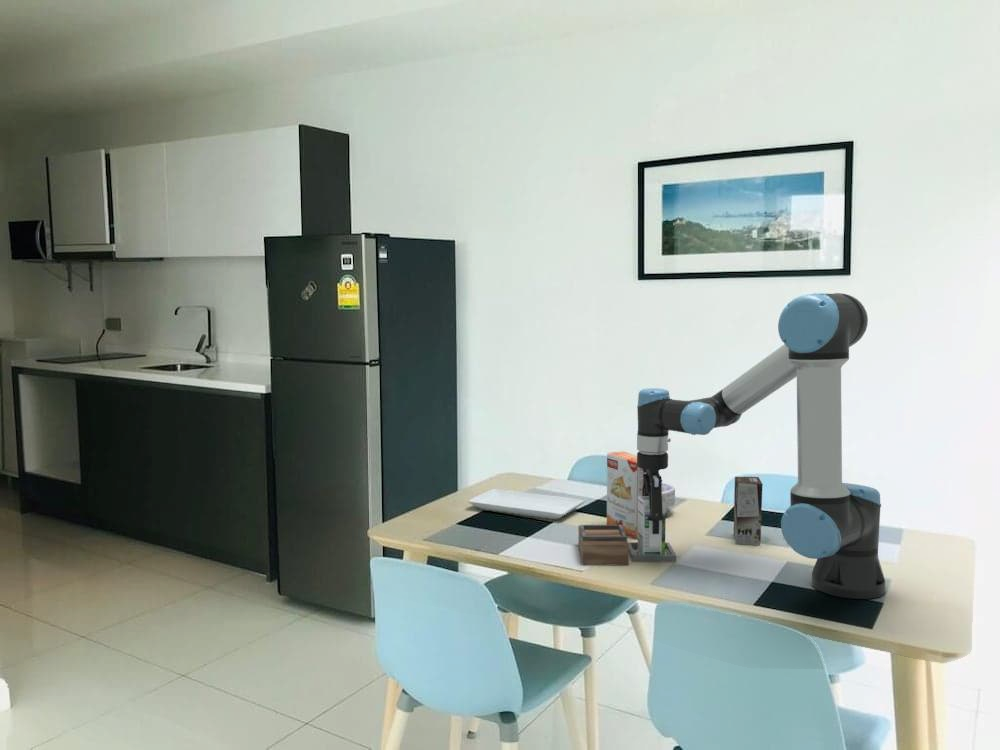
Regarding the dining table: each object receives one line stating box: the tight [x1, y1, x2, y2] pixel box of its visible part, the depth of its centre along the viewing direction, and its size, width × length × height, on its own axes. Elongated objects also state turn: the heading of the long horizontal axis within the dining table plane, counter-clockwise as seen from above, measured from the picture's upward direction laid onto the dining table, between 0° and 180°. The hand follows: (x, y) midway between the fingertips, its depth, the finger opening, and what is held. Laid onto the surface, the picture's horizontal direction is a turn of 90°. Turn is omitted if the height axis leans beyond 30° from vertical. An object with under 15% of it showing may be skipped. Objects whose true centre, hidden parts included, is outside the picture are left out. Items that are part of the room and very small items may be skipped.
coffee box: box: [733, 476, 763, 546], centre depth 219 cm, size 9×6×16 cm
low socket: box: [628, 541, 677, 563], centre depth 208 cm, size 11×11×2 cm
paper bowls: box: [662, 482, 676, 513], centre depth 246 cm, size 15×15×8 cm
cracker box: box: [606, 451, 643, 540], centre depth 227 cm, size 14×6×21 cm, turn 27°
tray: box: [467, 488, 585, 520], centre depth 251 cm, size 17×32×4 cm, turn 61°
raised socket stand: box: [577, 524, 630, 566], centre depth 208 cm, size 16×11×6 cm
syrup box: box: [637, 496, 667, 555], centre depth 207 cm, size 6×6×14 cm
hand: (651, 539), depth 208 cm, fingers open, 11 cm apart
